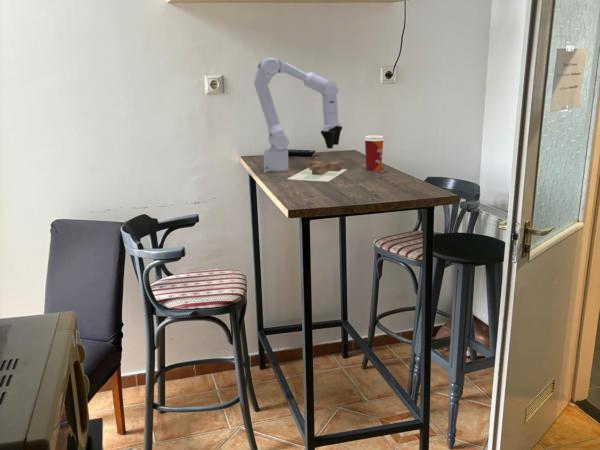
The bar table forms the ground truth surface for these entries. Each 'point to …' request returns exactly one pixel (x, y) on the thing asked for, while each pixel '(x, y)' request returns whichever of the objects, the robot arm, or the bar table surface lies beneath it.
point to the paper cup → (373, 152)
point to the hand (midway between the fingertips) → (332, 146)
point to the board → (309, 176)
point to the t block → (324, 167)
